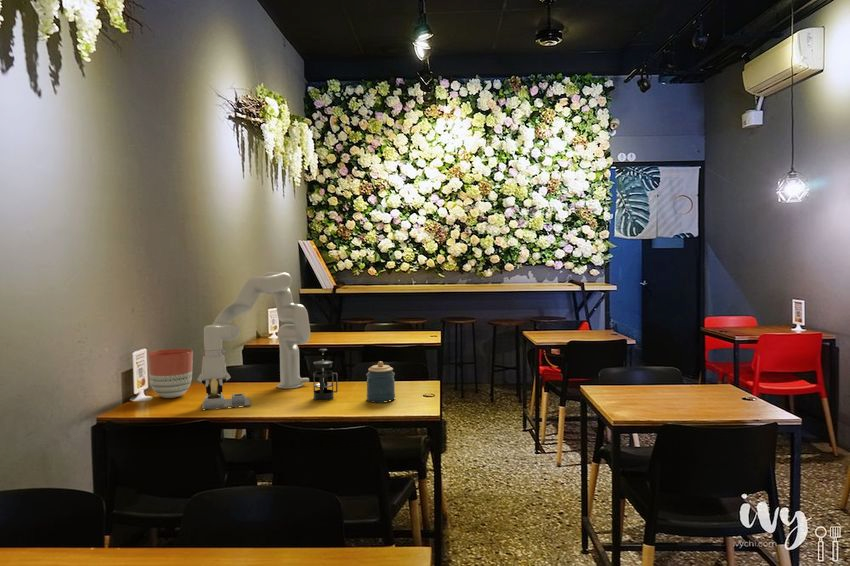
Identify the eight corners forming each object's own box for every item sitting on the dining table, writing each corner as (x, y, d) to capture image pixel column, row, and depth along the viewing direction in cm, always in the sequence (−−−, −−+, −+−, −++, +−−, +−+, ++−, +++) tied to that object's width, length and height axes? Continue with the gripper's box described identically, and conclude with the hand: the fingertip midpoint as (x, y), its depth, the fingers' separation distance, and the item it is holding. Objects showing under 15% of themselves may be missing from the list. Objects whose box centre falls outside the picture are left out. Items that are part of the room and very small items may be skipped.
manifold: (249, 399, 267) (249, 390, 267) (250, 406, 254) (250, 397, 254) (203, 403, 261) (203, 394, 261) (201, 410, 248) (201, 401, 248)
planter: (162, 404, 260) (161, 356, 259) (141, 398, 272) (139, 352, 271) (202, 395, 275) (201, 350, 275) (180, 390, 287) (178, 347, 286)
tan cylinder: (219, 397, 258) (218, 375, 258) (219, 399, 255) (218, 377, 254) (210, 398, 257) (209, 376, 257) (209, 400, 253) (208, 377, 253)
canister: (391, 403, 257) (390, 364, 256) (363, 402, 259) (362, 363, 259) (398, 396, 270) (397, 359, 269) (371, 395, 272) (370, 358, 271)
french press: (309, 401, 263) (308, 350, 262) (314, 396, 273) (313, 347, 272) (335, 400, 263) (334, 350, 262) (339, 396, 272) (338, 347, 271)
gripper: (233, 350, 261) (234, 391, 262) (193, 353, 256) (194, 394, 257) (233, 353, 254) (234, 394, 255) (192, 355, 249) (193, 397, 250)
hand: (214, 394), depth 256 cm, fingers closed on tan cylinder, 4 cm apart
